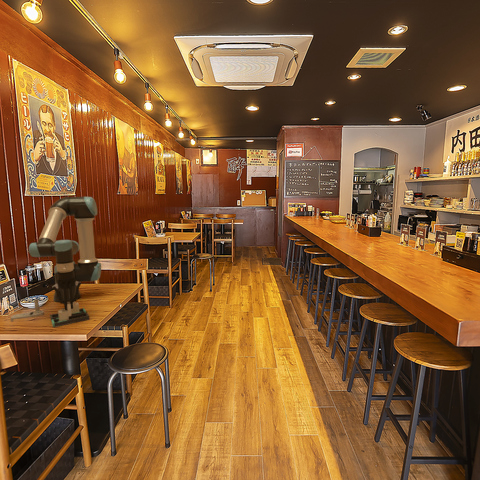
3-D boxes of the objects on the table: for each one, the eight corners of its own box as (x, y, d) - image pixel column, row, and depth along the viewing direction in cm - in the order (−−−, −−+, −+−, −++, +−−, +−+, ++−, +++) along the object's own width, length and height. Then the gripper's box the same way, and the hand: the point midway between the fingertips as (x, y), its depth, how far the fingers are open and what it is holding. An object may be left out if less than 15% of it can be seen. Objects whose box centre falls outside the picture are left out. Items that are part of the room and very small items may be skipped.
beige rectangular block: (70, 314, 166) (69, 302, 165) (78, 312, 169) (77, 300, 168) (71, 316, 163) (70, 304, 162) (79, 314, 166) (78, 302, 165)
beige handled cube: (58, 321, 156) (57, 309, 155) (67, 319, 159) (66, 307, 158) (59, 324, 153) (58, 311, 152) (68, 322, 156) (67, 309, 155)
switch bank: (50, 319, 163) (49, 313, 163) (84, 312, 173) (83, 307, 172) (53, 330, 150) (52, 324, 149) (90, 321, 159) (89, 316, 159)
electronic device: (10, 302, 163) (42, 297, 168) (12, 319, 164) (45, 314, 170) (7, 305, 158) (40, 300, 163) (9, 323, 159) (43, 318, 165)
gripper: (51, 274, 147) (55, 320, 150) (81, 270, 155) (84, 314, 158) (49, 271, 153) (54, 316, 156) (78, 267, 161) (82, 310, 164)
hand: (69, 315), depth 157 cm, fingers closed
